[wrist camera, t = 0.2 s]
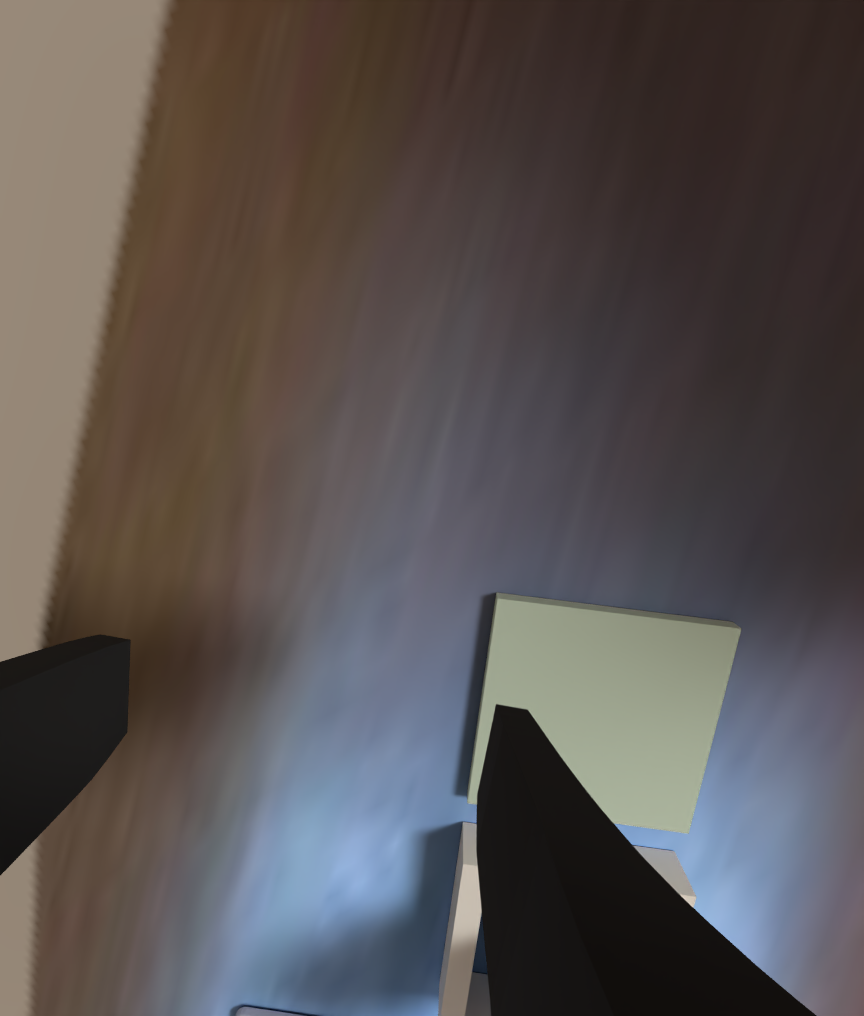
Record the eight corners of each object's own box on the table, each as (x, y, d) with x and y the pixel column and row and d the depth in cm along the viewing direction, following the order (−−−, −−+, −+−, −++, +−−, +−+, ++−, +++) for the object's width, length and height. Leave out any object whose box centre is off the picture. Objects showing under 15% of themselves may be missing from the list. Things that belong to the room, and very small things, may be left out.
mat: (682, 821, 21) (688, 833, 20) (467, 792, 21) (467, 803, 20) (732, 621, 19) (741, 628, 18) (496, 592, 19) (497, 598, 19)
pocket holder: (633, 1013, 23) (649, 1069, 21) (439, 984, 23) (437, 1037, 21) (674, 851, 21) (696, 896, 19) (462, 822, 21) (463, 864, 19)
